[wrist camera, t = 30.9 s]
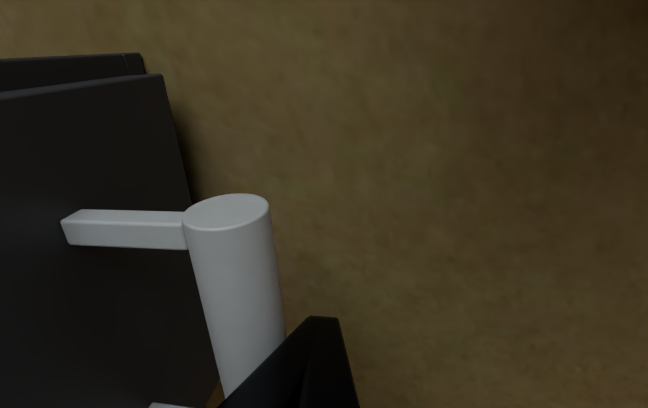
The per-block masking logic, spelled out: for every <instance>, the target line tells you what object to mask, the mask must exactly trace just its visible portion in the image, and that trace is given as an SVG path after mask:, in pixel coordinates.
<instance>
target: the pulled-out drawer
mask: <svg viewBox="0 0 648 408" xmlns="http://www.w3.org/2000/svg"><path fill="white" fill-rule="evenodd" d="M286 338H287V337H286V329H285V321H284V314H283V306H282V298H281V291H280V283H279V276H278V268H277V260H276V253H275V245H274V237H273V230H272V222H271V214H270V207H269V203H268V202H267V201H266V199H264V198H263V197H260V196H257V195H253V194H242V193H241V194H226V195H220V196H216V197H212V198H209V199H206V200H203V201H200V202H198V203H196V204H194V205H192V202H191V197H190V193H189V189H188V184H187V180H186V175H185V171H184V167H183V162H182V158H181V153H180V149H179V145H178V140H177V136H176V131H175V127H174V123H173V118H172V114H171V109H170V105H169V100H168V96H167V92H166V87H165V83H164V78H163V75H162V74H145V75H127V76H119V77H111V78H104V79H96V80H88V81H81V82H73V83H66V84H58V85H50V86H43V87H35V88H27V89H20V90H12V91H5V92H0V408H205V406H206V404H207V402H208V400H209V398H210V396H211V394H212V392H213V390H214V388H215V386H216V384H217V383H218V381H219V379H220V380H221V384H222V388H223V392H224V396H225V399H226V398H227V397H228V396H229V395H230V394H231V393H232V392H233V391H234V390H235V389H236V388H237V387H238V386H239V385H240V384H241V383H242V382H243V381H244V380H245V379H246V378H247V377H248V376H249V375H250V374H251V373H252V372H253V371H254V370H255V369H256V368H257V367H258V366H259V365H260V364H261V363H262V362H263V361H264V360H265V359H266V358H267V357H268V356H269V355H270V354H271V353H272V352H273V351H274V350H275V349H276V348H277V347H278V346H279V345H280V344H281V343H282V342H283V341H284V340H285V339H286Z"/></svg>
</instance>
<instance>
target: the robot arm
mask: <svg viewBox="0 0 648 408" xmlns="http://www.w3.org/2000/svg"><path fill="white" fill-rule="evenodd" d="M217 408H360V406H359V401H358V397H357V393H356V389H355V385H354V381H353V377H352V373H351V369H350V364H349V360H348V356H347V352H346V348H345V344H344V340H343V336H342V332H341V327H340V323H339V320H338V318H336V317H324V316H309V317H307V318H306V319H305V320H304V321H303V322H302V323H301V324H300V325H299V326H298V327H297V328H296V329H295V330H294V331H293V332H292V333H291V334H290V335H289V336H288V337H287V338H286V339H285V340H284V341H283V342H282V343H281V344H280V345H279V346H278V347H277V348H276V349H275V350H274V351H273V352H272V353H271V354H270V355H269V356H268V357H267V358H266V359H265V360H264V361H263V362H262V363H261V364H260V365H259V366H258V367H257V368H256V369H255V370H254V371H253V372H252V373H251V374H250V375H249V376H248V377H247V378H246V379H245V380H244V381H243V382H242V383H241V384H240V385H239V386H238V387H237V388H236V389H235V390H234V391H233V392H232V393H231V394H230V395H229V396H228V397H227V398H226V399H225V400H224V401H223V402H222V403H221V404H220V405H219V406H218V407H217Z"/></svg>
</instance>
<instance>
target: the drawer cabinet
mask: <svg viewBox="0 0 648 408" xmlns="http://www.w3.org/2000/svg"><path fill="white" fill-rule="evenodd" d="M127 75H145V72H144V67H143V63H142V59H141V55H140V53H117V54H96V55H74V56H53V57H32V58H10V59H0V92H5V91H12V90H20V89H27V88H35V87H43V86H50V85H58V84H66V83H73V82H81V81H88V80H96V79H104V78H111V77H119V76H127Z"/></svg>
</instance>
